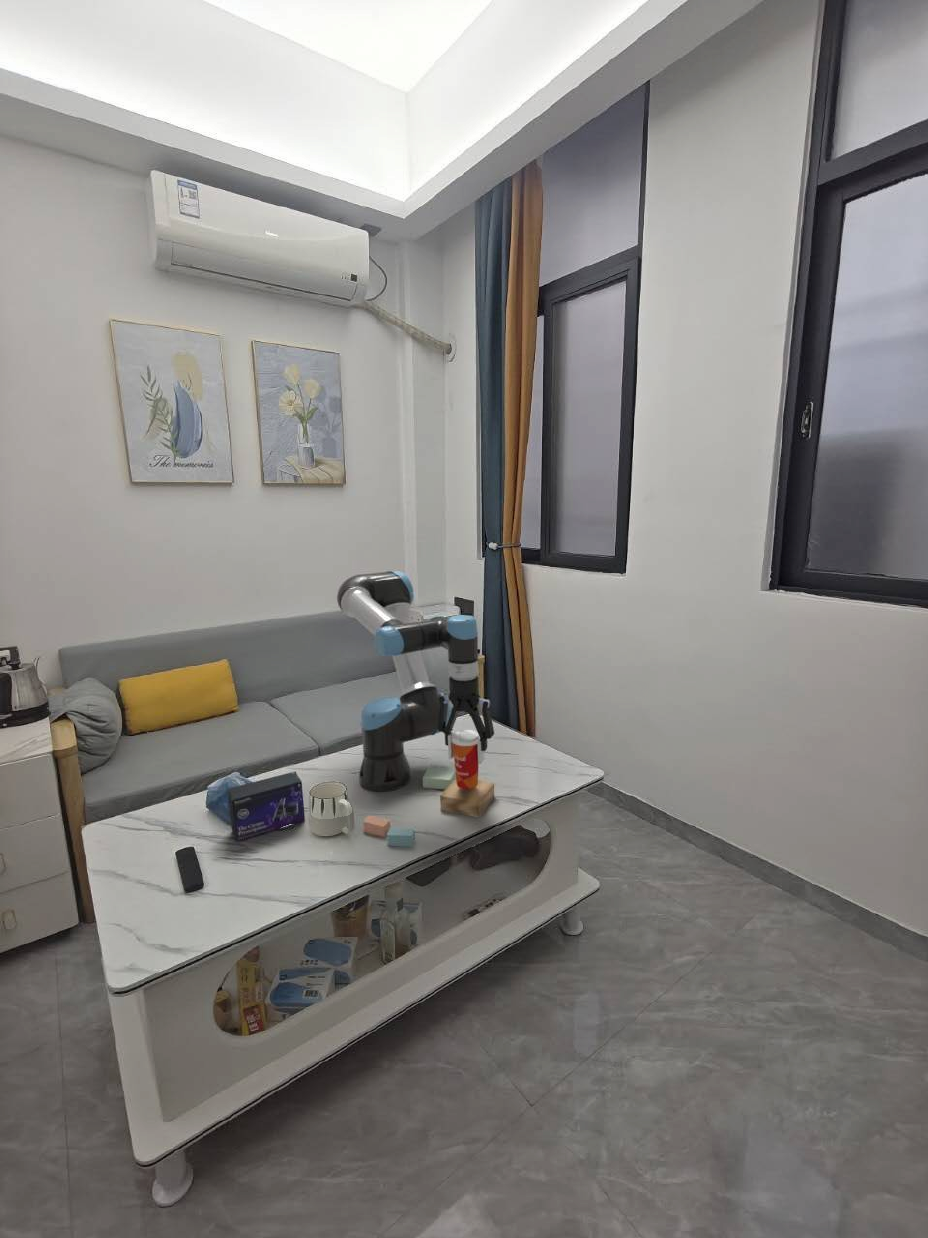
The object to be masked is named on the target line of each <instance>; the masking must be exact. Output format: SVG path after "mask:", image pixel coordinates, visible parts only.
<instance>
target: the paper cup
mask: <svg viewBox="0 0 928 1238" xmlns="http://www.w3.org/2000/svg"><path fill="white" fill-rule="evenodd" d="M454 732H455V733H454V734H453V737H452V739H451V741H452V743H453V752H454V757H453V761H454V767H455V772H456V782H457V786H458V787H459V788H462V789H472V788H475V787H476V786H477V784H478V781H479V768H480V767H479V764H478V745H477V740H478V739H479V738H480V737H479V734H478V732H477V731H476V730H473V729H472V730H471V729H465V730H459V731H454Z"/></svg>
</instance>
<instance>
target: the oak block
mask: <svg viewBox="0 0 928 1238" xmlns="http://www.w3.org/2000/svg"><path fill="white" fill-rule="evenodd" d="M494 798H495V783H494V782H488V781H484V780H483V781H482V780H478V784H477V786H476V787H475V788H472V789H462V788H459V787H458V786H457V782H456V779H455V780H454V781H453V782H452V783H451V784H450V785H449V786H448V787H447V788H446V789H444V791H443V792H442V793H441V794H440V795H439V800H440V801H439V802H440V803H439V804H440V805H439V806H440V811H441V810H442V811H445V812H446V811H447V812H451V813H456V814H460V815H461V814H462V815H466V816H471V817H476V818H480V817H481V816H482V814H483V813H484V812H485V810H486V809H487V808H488V806H489V805H490V804H491V802H492V801H493V800H494Z"/></svg>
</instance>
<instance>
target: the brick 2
mask: <svg viewBox="0 0 928 1238" xmlns="http://www.w3.org/2000/svg"><path fill="white" fill-rule="evenodd" d="M415 835H416V834H415V827H414V828H411V827H410V828H407V827H391V828H390V829H389V831H388V834H387V835H386V840H387V841H386V842H387V846H392V847H413V846H414V844H415V840H416V837H415Z"/></svg>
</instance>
